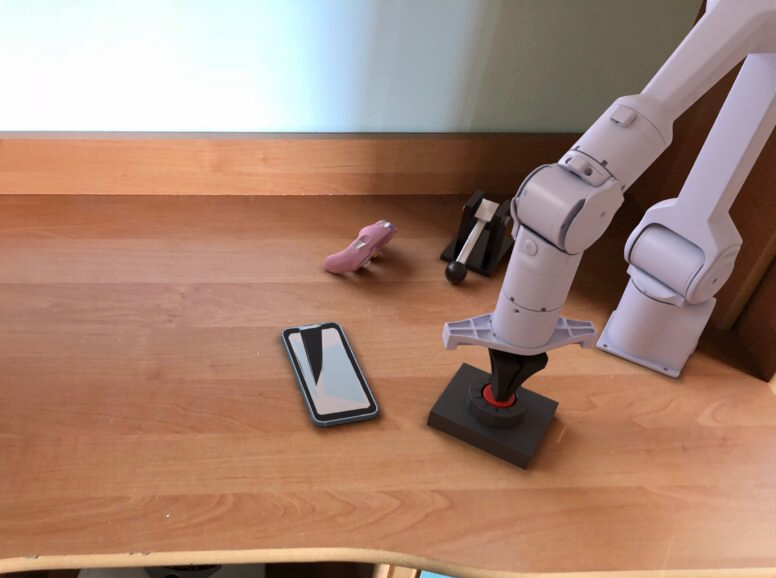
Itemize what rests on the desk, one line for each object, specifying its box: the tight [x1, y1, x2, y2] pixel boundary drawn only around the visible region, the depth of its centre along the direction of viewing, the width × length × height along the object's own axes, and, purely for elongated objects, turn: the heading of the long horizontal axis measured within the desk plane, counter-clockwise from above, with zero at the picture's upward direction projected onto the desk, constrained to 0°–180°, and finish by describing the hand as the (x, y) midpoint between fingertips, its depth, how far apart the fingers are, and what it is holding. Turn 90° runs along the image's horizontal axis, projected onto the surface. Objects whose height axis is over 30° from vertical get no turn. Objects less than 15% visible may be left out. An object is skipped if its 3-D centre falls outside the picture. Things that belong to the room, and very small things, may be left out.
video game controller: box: [323, 219, 398, 274], centre depth 103 cm, size 10×5×7 cm, turn 143°
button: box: [482, 385, 515, 408], centre depth 83 cm, size 3×3×2 cm
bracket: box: [439, 189, 516, 279], centre depth 104 cm, size 9×7×8 cm
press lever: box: [444, 198, 500, 284], centre depth 102 cm, size 12×3×3 cm, turn 148°
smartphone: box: [280, 321, 379, 428], centre depth 89 cm, size 7×1×15 cm
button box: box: [426, 361, 560, 471], centre depth 84 cm, size 11×9×4 cm
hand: (499, 394), depth 82 cm, fingers closed, pressing on button
